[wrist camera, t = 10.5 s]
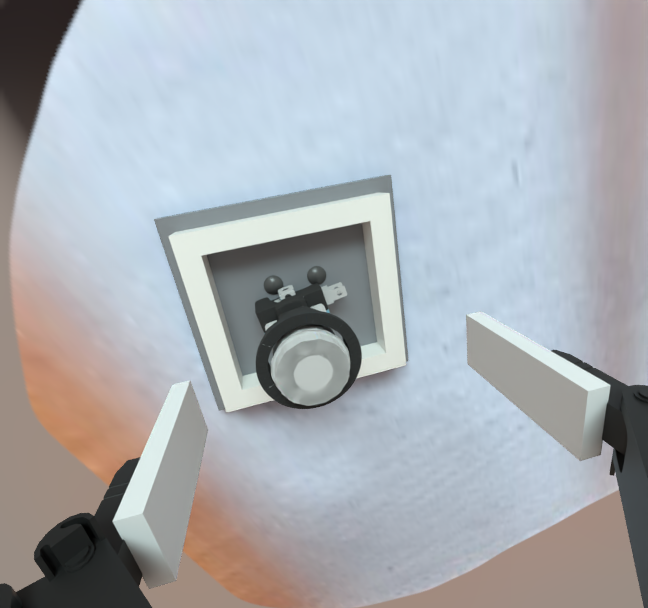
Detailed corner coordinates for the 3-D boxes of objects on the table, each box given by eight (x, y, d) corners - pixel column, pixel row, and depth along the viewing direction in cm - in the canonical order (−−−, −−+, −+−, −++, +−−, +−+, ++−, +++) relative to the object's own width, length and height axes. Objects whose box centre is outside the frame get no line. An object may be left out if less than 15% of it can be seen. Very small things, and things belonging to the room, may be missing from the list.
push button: (330, 252, 25) (378, 293, 16) (351, 316, 27) (403, 386, 18) (242, 284, 24) (237, 346, 15) (269, 347, 26) (280, 436, 17)
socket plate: (385, 175, 25) (402, 174, 22) (403, 355, 30) (419, 372, 28) (157, 218, 23) (145, 222, 20) (220, 403, 28) (216, 427, 25)
